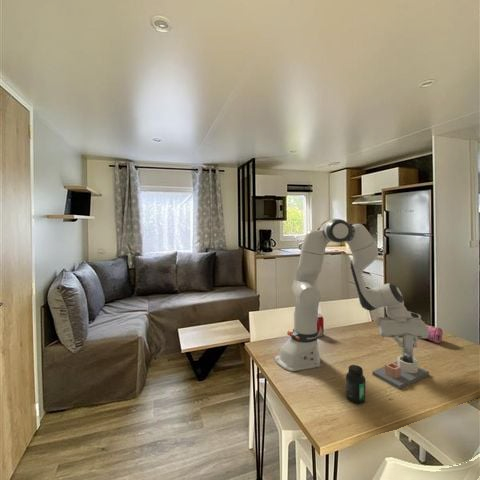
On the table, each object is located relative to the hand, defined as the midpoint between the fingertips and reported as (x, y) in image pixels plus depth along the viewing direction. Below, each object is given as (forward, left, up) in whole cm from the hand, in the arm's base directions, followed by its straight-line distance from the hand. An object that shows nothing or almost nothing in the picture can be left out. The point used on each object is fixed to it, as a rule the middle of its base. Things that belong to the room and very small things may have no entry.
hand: (408, 346), depth 118 cm
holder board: (-5, +1, -12) cm, 12 cm away
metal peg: (0, +1, -7) cm, 7 cm away
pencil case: (+43, +19, -12) cm, 48 cm away
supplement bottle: (-35, -1, -12) cm, 37 cm away
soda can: (-6, +50, -12) cm, 52 cm away
